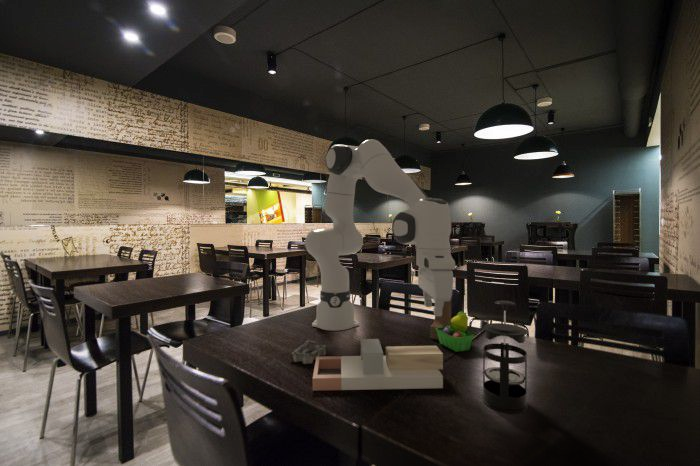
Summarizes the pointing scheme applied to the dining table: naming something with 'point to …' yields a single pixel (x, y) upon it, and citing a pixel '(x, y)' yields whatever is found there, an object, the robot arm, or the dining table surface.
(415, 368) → the maple bar
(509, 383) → the french press
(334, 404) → the dining table surface
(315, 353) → the egg carton
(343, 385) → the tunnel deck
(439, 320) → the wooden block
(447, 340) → the fruit basket
